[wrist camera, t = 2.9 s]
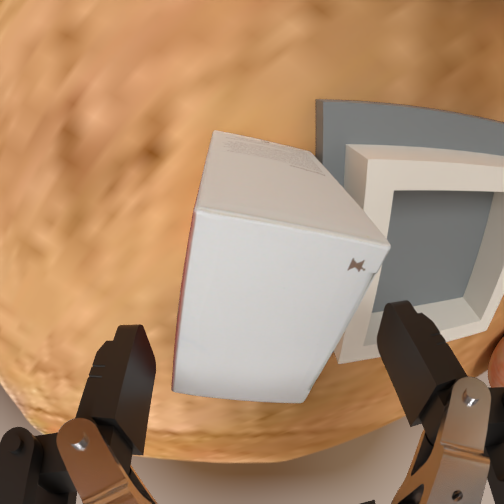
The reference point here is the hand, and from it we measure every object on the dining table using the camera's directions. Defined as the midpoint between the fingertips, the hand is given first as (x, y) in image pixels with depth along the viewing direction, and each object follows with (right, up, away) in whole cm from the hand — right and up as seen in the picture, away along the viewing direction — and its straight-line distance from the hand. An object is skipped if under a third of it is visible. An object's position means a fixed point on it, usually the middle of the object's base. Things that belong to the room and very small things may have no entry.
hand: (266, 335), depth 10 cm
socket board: (+11, +4, +10) cm, 16 cm away
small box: (-1, +6, +9) cm, 10 cm away
